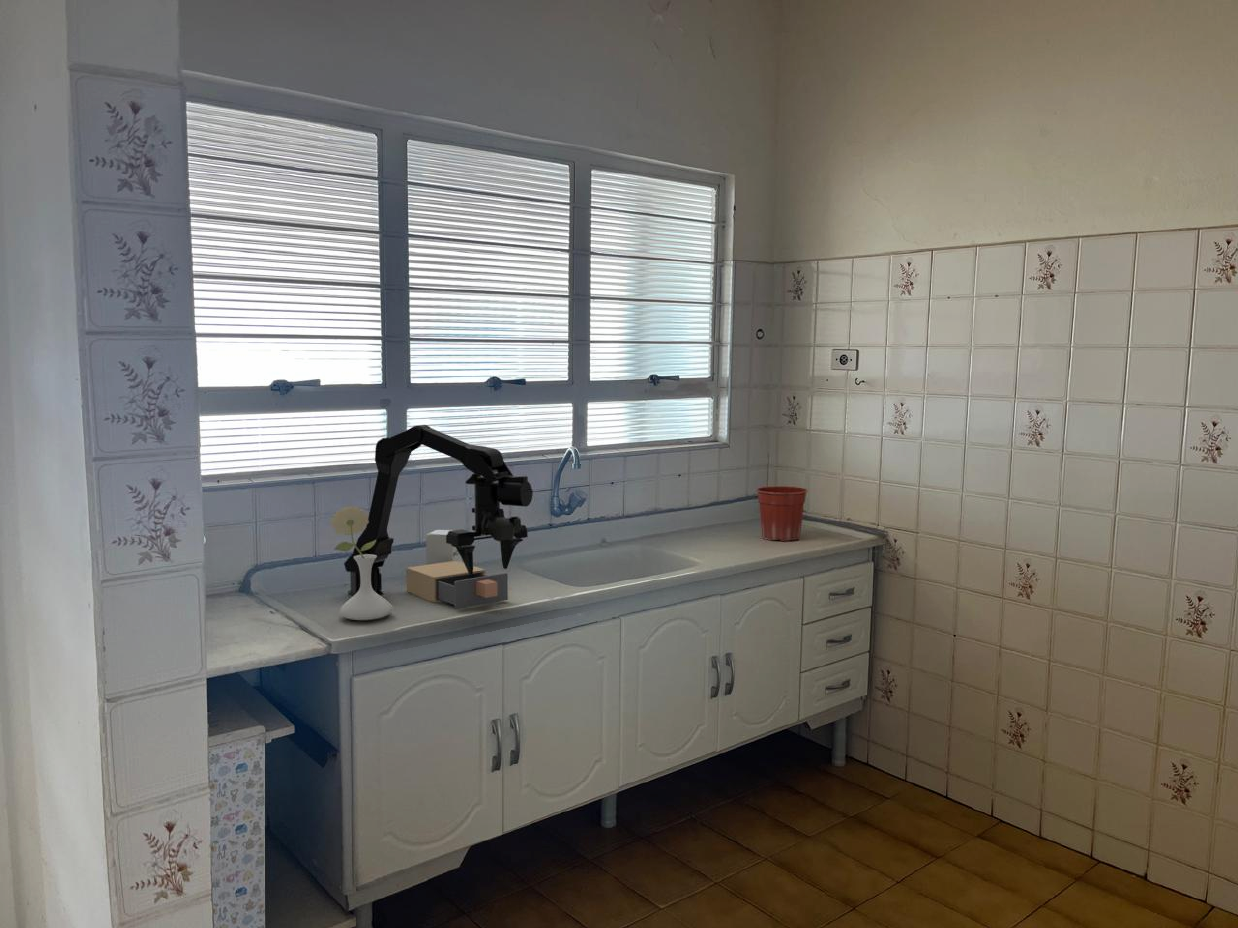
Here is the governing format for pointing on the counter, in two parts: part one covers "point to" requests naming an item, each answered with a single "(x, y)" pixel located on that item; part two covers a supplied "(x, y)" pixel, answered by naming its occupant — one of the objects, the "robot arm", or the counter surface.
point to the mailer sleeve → (434, 577)
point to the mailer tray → (472, 589)
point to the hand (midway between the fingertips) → (488, 571)
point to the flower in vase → (360, 568)
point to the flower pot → (781, 511)
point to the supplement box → (440, 548)
